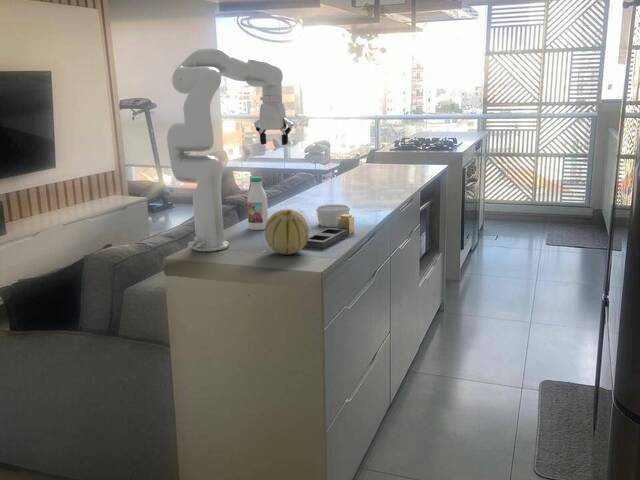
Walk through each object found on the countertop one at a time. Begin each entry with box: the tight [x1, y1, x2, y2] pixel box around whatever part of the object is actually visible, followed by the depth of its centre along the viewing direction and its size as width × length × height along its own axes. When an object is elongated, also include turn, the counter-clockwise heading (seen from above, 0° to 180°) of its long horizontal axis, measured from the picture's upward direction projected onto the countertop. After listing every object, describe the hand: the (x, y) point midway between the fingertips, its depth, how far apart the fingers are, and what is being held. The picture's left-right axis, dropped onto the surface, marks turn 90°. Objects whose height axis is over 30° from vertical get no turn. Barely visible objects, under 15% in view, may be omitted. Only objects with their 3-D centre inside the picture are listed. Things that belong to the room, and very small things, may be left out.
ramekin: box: [315, 203, 351, 228], centre depth 242 cm, size 13×13×7 cm
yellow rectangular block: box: [337, 214, 355, 236], centre depth 227 cm, size 4×4×7 cm
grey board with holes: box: [303, 227, 349, 250], centre depth 216 cm, size 20×8×2 cm, turn 153°
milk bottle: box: [246, 176, 269, 231], centre depth 237 cm, size 8×8×20 cm
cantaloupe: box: [264, 208, 310, 255], centre depth 201 cm, size 15×15×15 cm
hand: (274, 144), depth 243 cm, fingers open, 9 cm apart
